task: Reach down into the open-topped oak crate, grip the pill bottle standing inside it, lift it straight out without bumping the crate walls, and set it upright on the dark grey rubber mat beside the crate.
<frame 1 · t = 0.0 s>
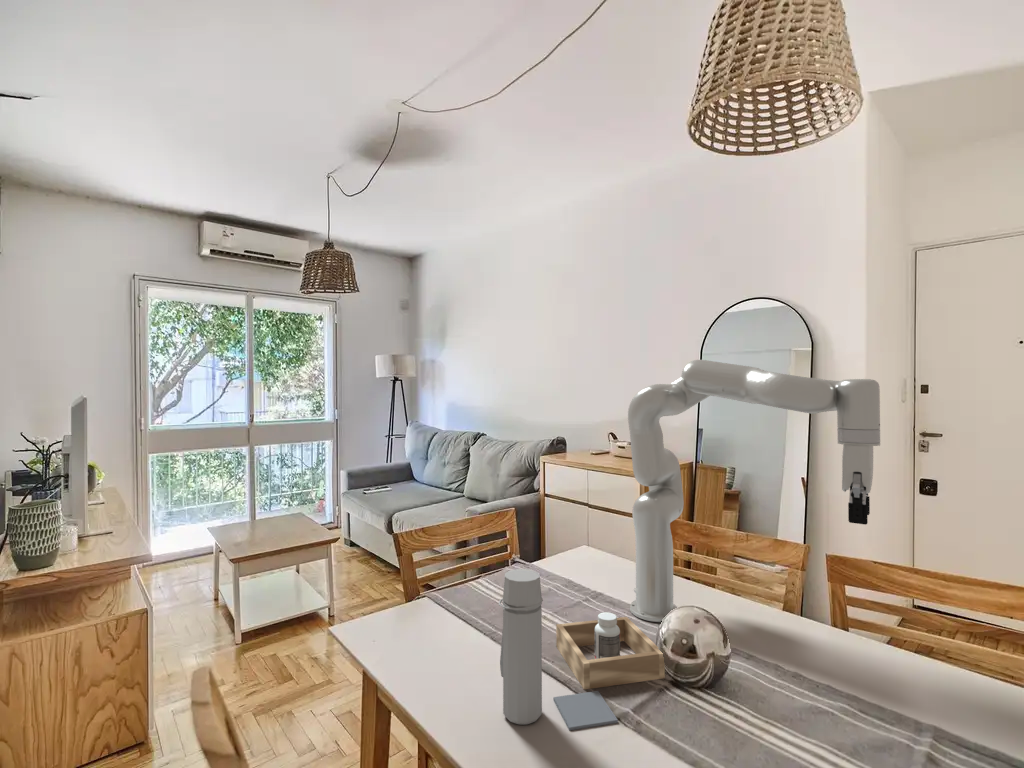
hand: (859, 518, 109), 31 cm above the table, tool pointing down, fingers open, 9 cm apart
rubber mat: (584, 710, 94), on the table
water bottle: (518, 713, 93), on the table
pill bottle: (607, 662, 111), resting in oak crate
oak crate: (607, 661, 111), on the table
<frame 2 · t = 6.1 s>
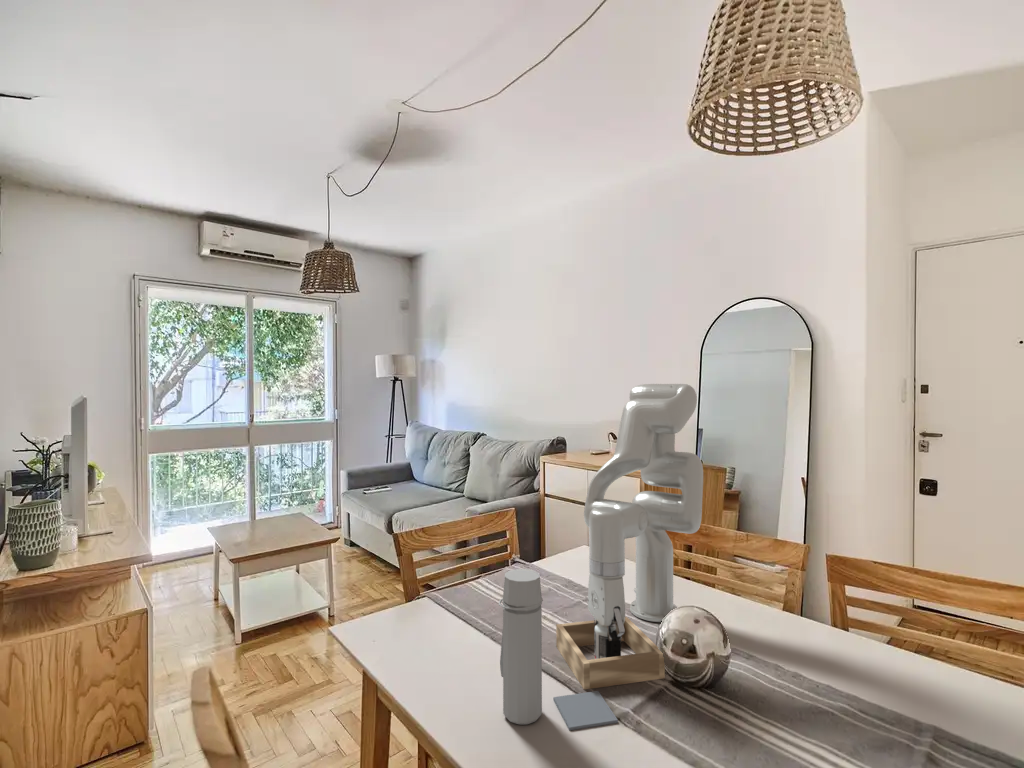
hand: (607, 649, 111), 3 cm above the table, tool pointing down, fingers closed on pill bottle, 5 cm apart
pill bottle: (607, 662, 111), resting in oak crate, touching gripper
everything else where it was.
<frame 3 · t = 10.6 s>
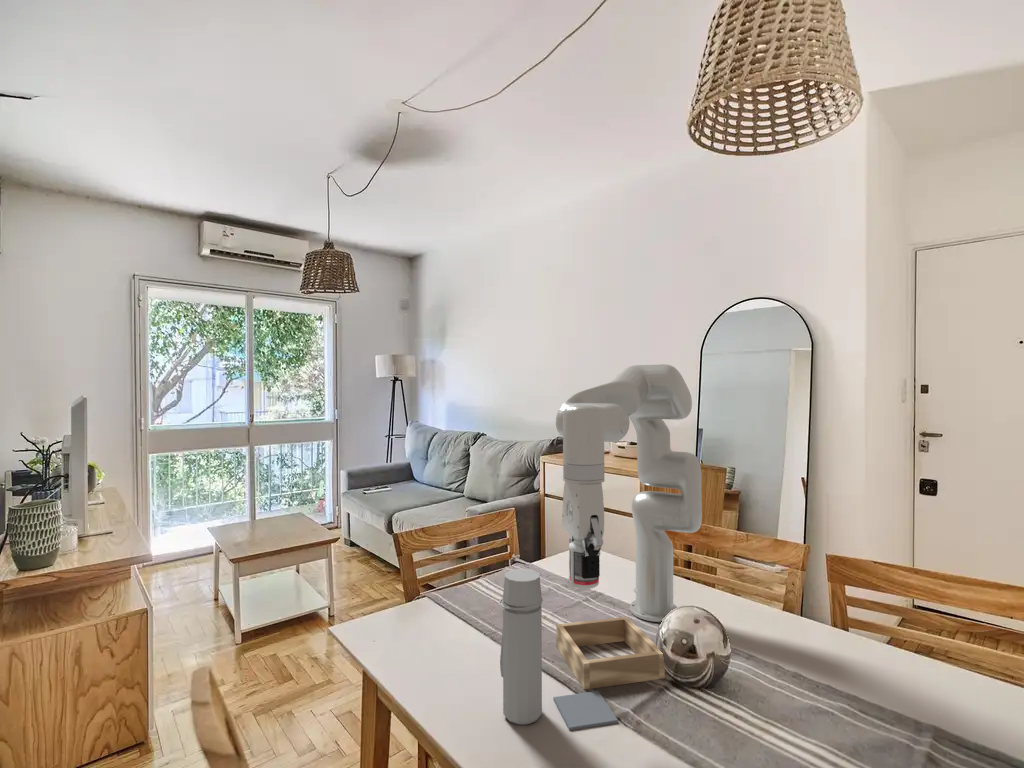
hand: (584, 570, 94), 25 cm above the table, tool pointing down, fingers closed on pill bottle, 5 cm apart
pill bottle: (584, 585, 94), point 23 cm above the table, touching gripper
everything else where it was.
when the fingers open (4 cm above the table, at t = 15.5 s): pill bottle stays where it is, resting on rubber mat.
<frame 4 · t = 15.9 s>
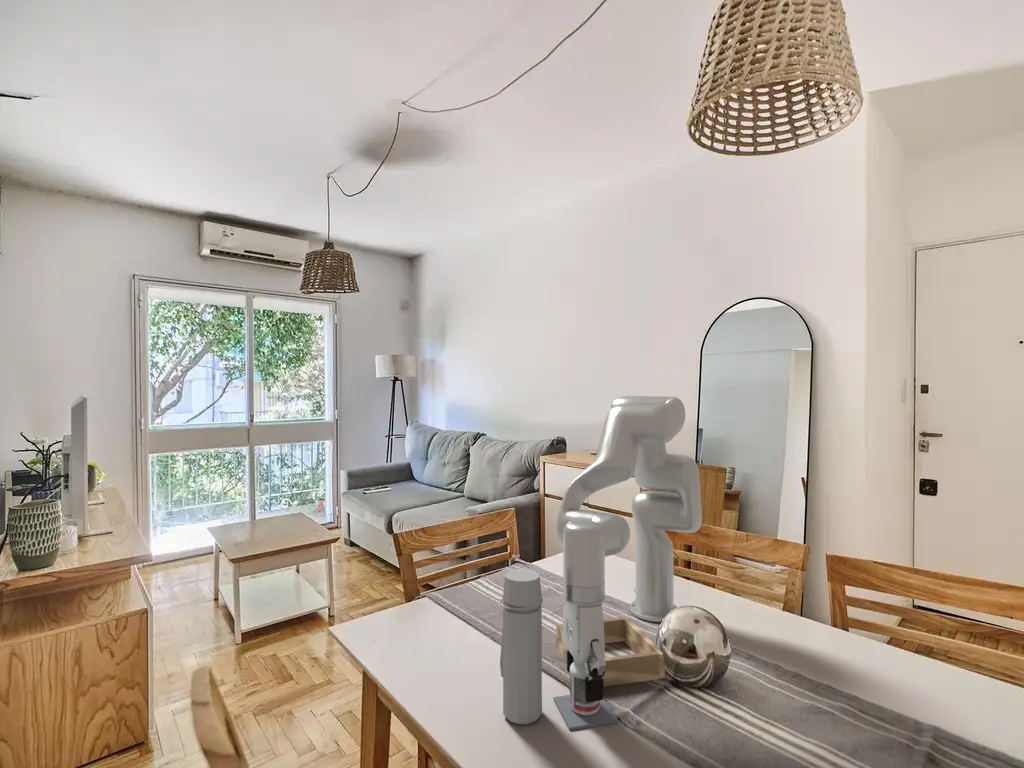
hand: (584, 684, 94), 5 cm above the table, tool pointing down, fingers open, 9 cm apart
pill bottle: (584, 708, 94), resting on rubber mat
everything else where it was.
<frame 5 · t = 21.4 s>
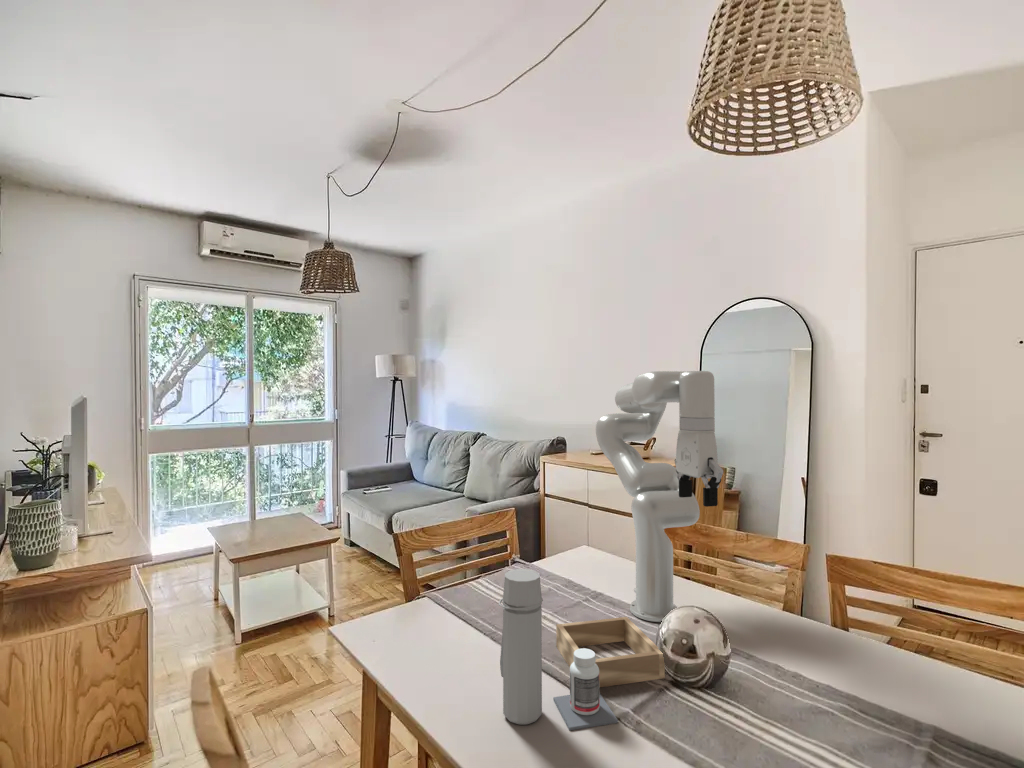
hand: (697, 501, 116), 33 cm above the table, tool pointing down, fingers open, 9 cm apart
nothing on the table moved.
at the end: pill bottle inside the target area on the rubber mat (0.2 cm from its centre), point 0.3 cm above the rubber mat's base; pill bottle tilted 0°; oak crate moved 0.0 cm from its start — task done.
